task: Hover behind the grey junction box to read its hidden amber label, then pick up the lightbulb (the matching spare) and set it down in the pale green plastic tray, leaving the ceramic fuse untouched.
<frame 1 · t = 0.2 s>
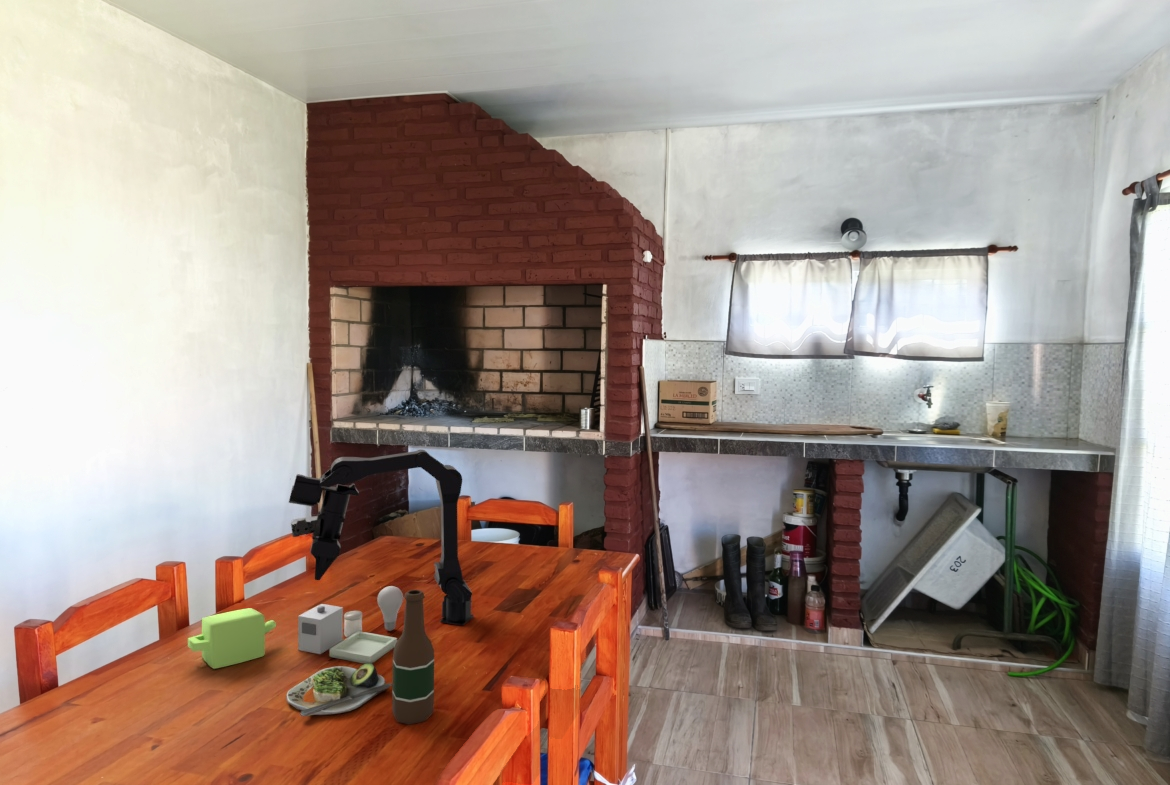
hand: (317, 573, 168), 15 cm above the table, tool pointing down, fingers open, 9 cm apart
tray: (364, 650, 162), on the table
salad plate: (339, 695, 143), on the table
lightbulb: (390, 631, 174), on the table
gearbox: (235, 656, 158), on the table
beer bottle: (412, 715, 135), on the table
junction box: (320, 645, 164), on the table
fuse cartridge: (353, 634, 171), on the table
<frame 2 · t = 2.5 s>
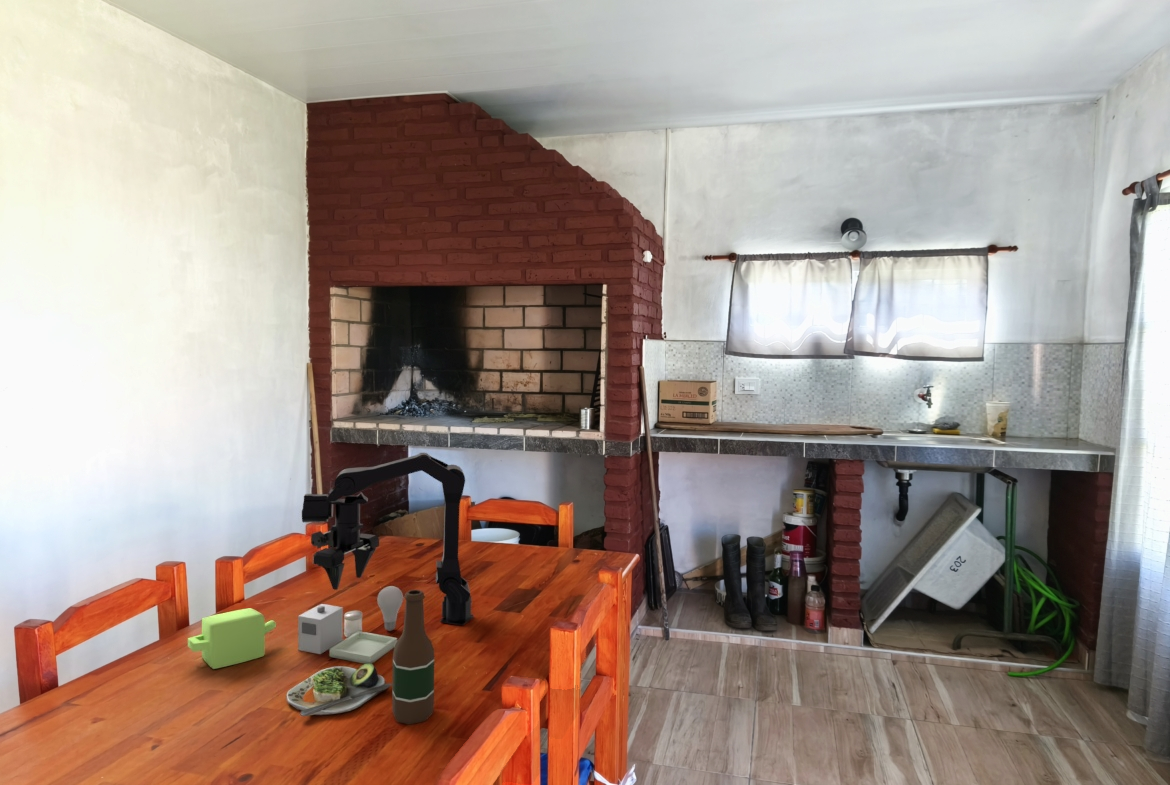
hand: (347, 583, 174), 11 cm above the table, tool pointing down, fingers open, 9 cm apart
nothing on the table moved.
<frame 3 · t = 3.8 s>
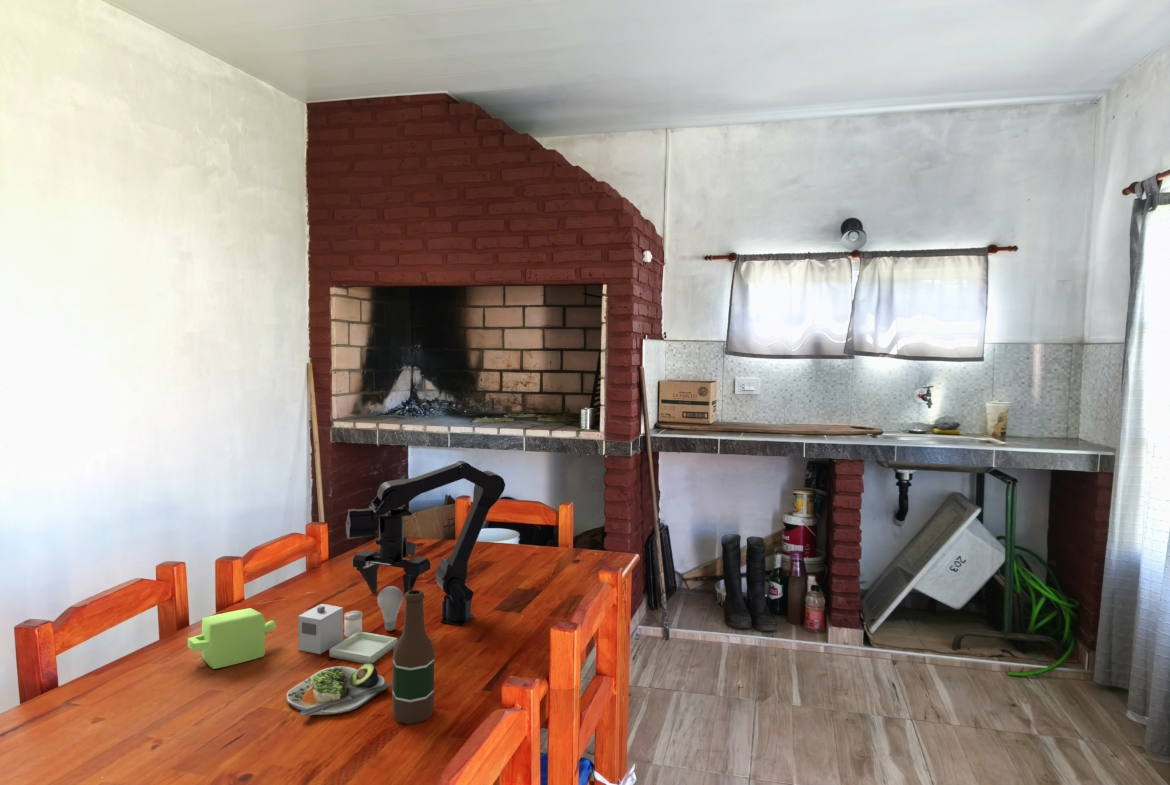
hand: (390, 596, 173), 8 cm above the table, tool pointing down, fingers open, 9 cm apart
nothing on the table moved.
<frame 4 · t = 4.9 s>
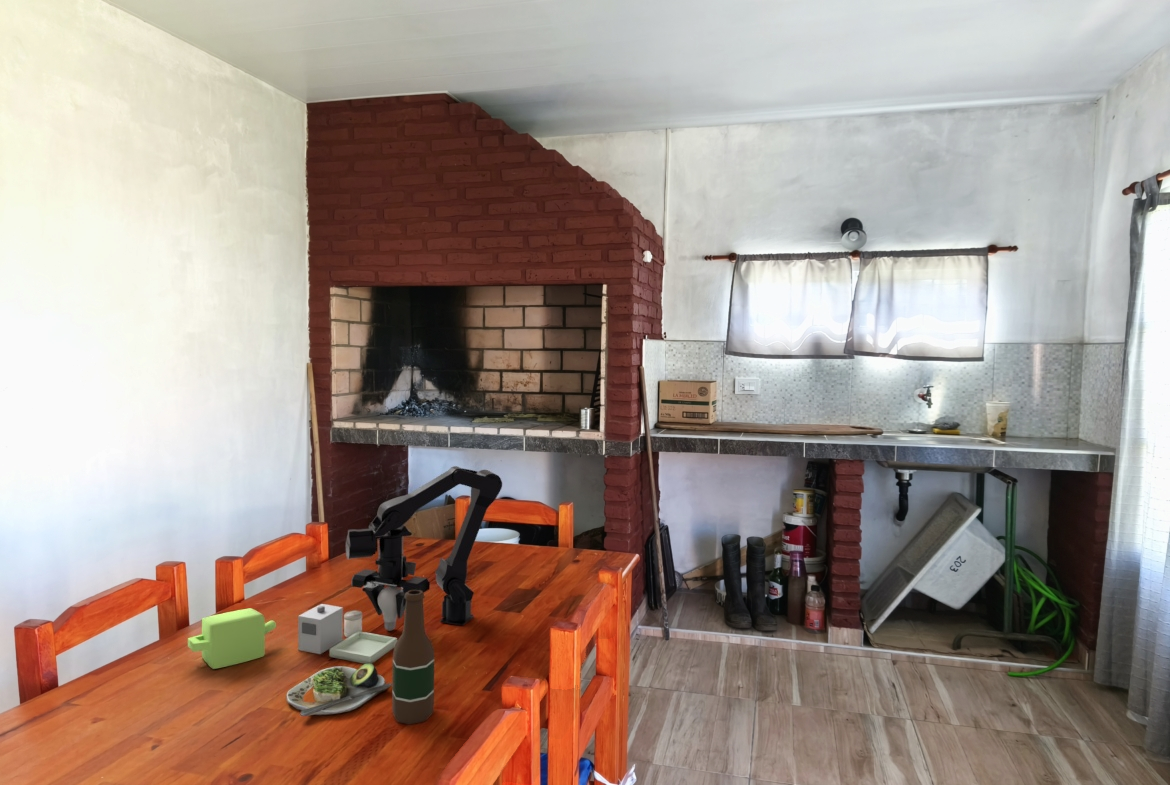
hand: (390, 616, 173), 4 cm above the table, tool pointing down, fingers closed on lightbulb, 5 cm apart
lightbulb: (390, 631, 174), on the table, touching gripper
everything else where it was.
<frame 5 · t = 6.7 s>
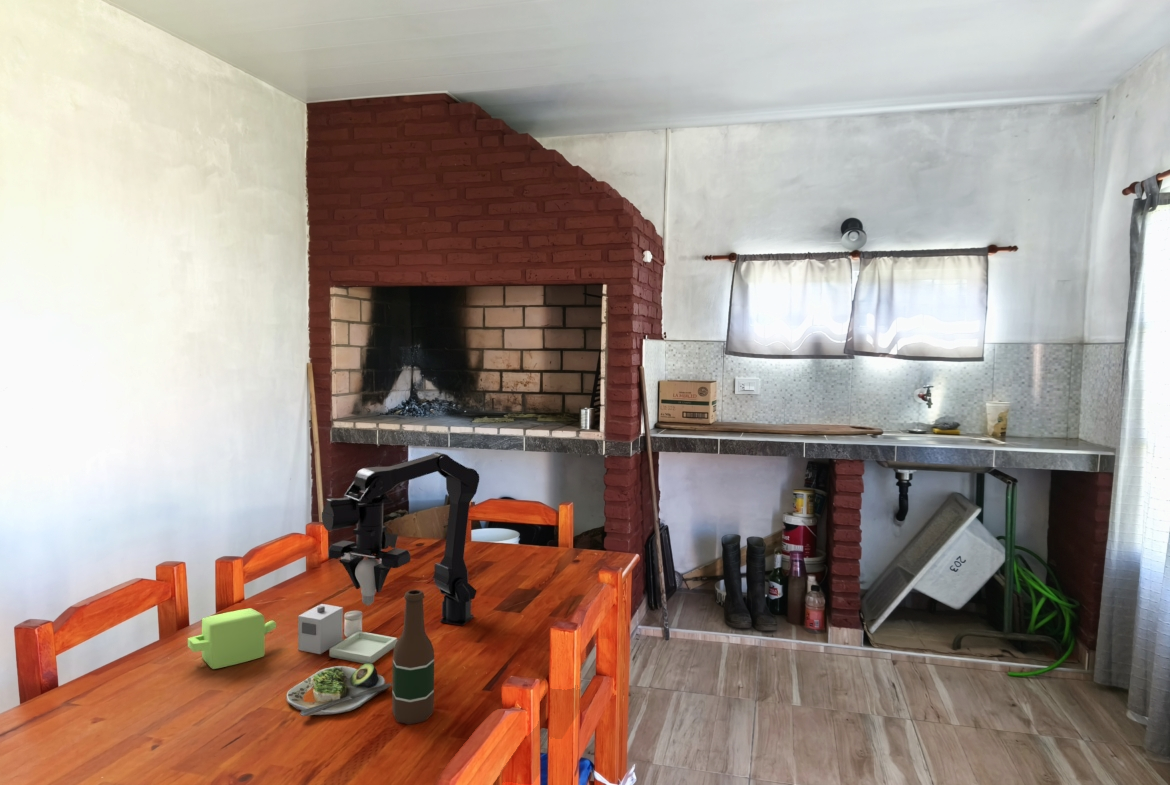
hand: (368, 590, 163), 13 cm above the table, tool pointing down, fingers closed on lightbulb, 5 cm apart
lightbulb: (367, 606, 163), point 10 cm above the table, touching gripper
everything else where it was.
when the fingers open (6 cm above the table, at t = 8.6 s): lightbulb drops 2 cm, resting on tray.
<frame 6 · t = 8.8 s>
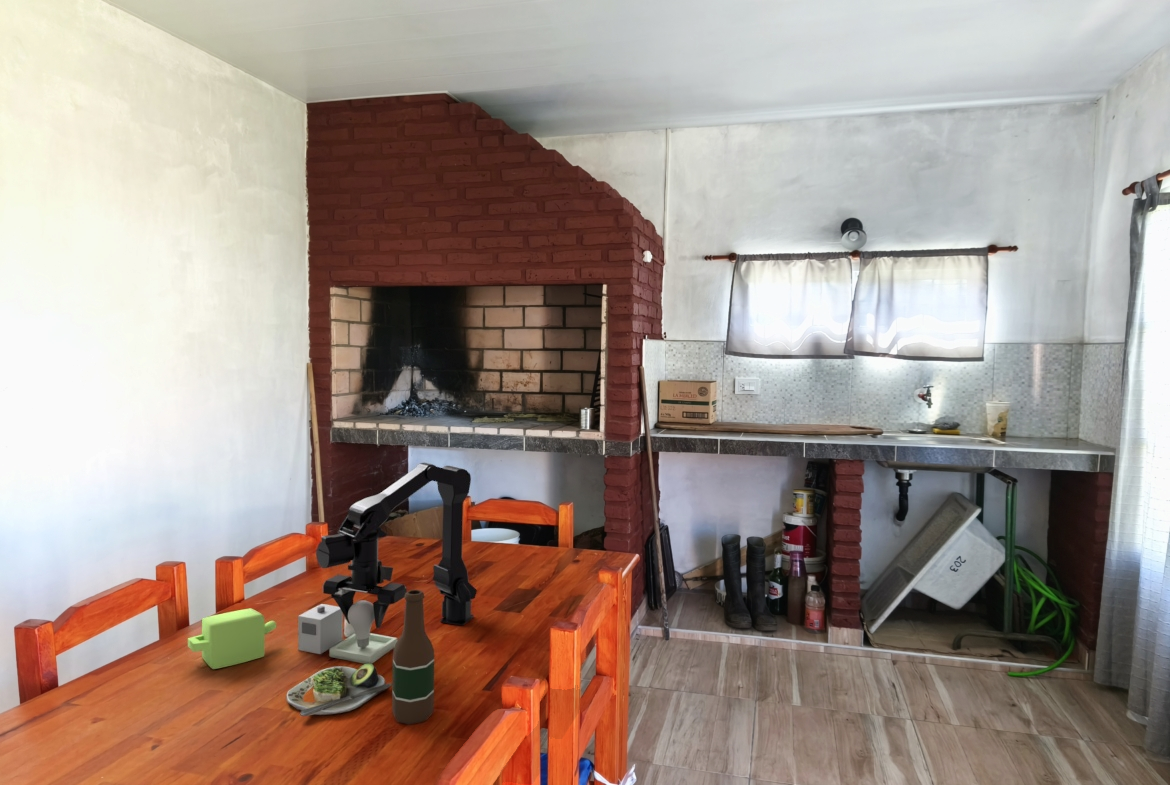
hand: (364, 625, 161), 6 cm above the table, tool pointing down, fingers open, 7 cm apart
lightbulb: (363, 648, 162), resting on tray
everything else where it was.
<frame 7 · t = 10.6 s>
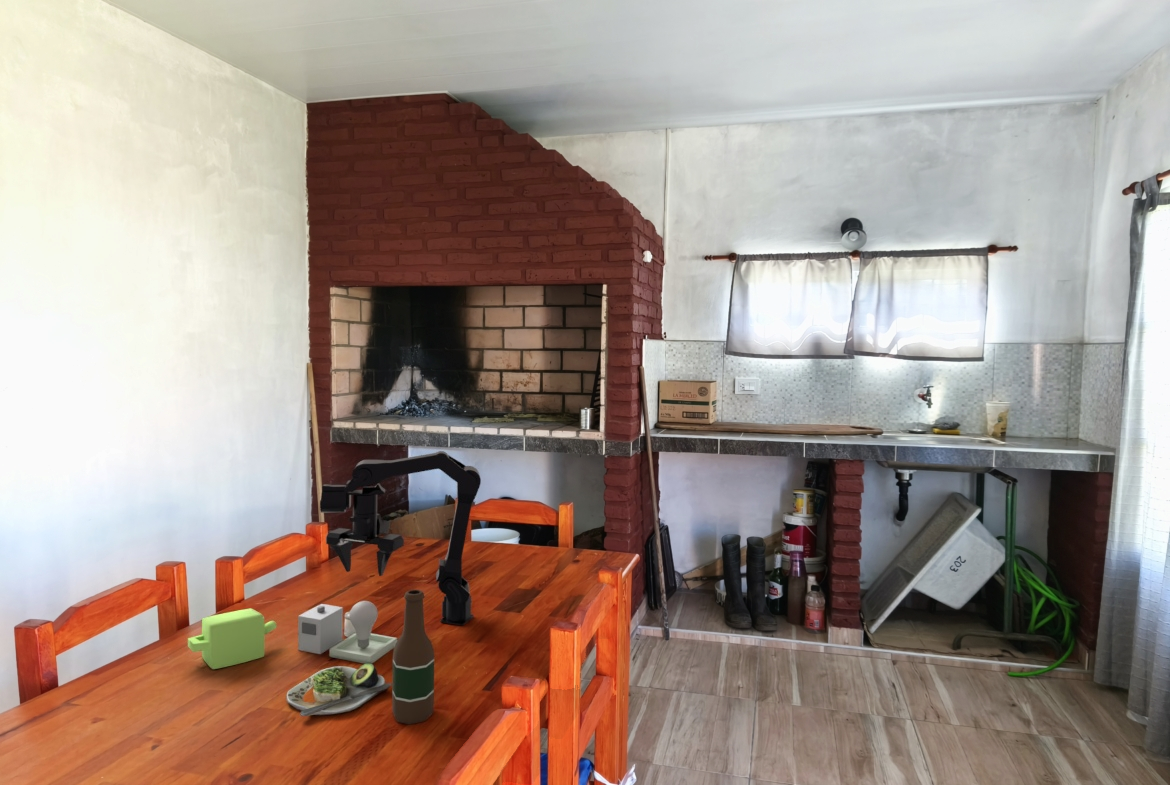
hand: (364, 573, 176), 13 cm above the table, tool pointing down, fingers open, 9 cm apart
nothing on the table moved.
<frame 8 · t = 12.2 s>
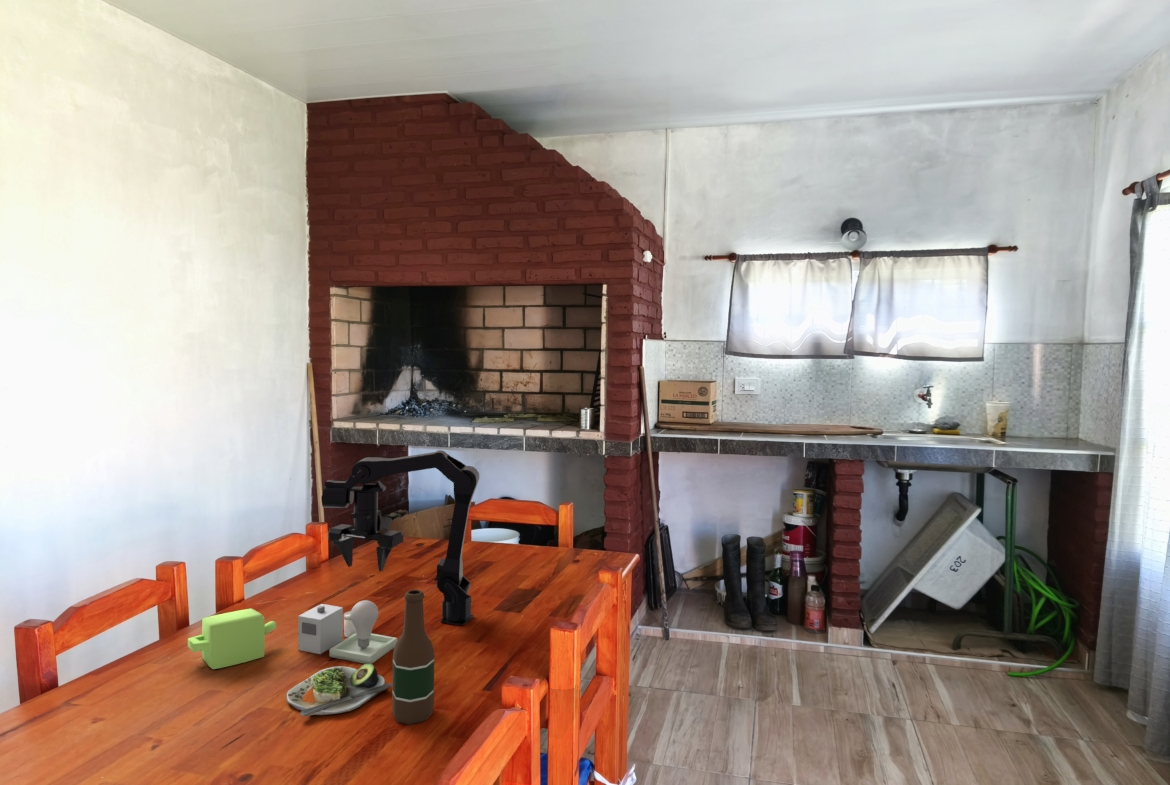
hand: (365, 568, 179), 13 cm above the table, tool pointing down, fingers open, 9 cm apart
nothing on the table moved.
at the end: lightbulb inside the target area on the tray (0.1 cm from its centre), point 0.4 cm above the tray's base; the gripper is holding nothing; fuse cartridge moved 0.0 cm from its start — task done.
